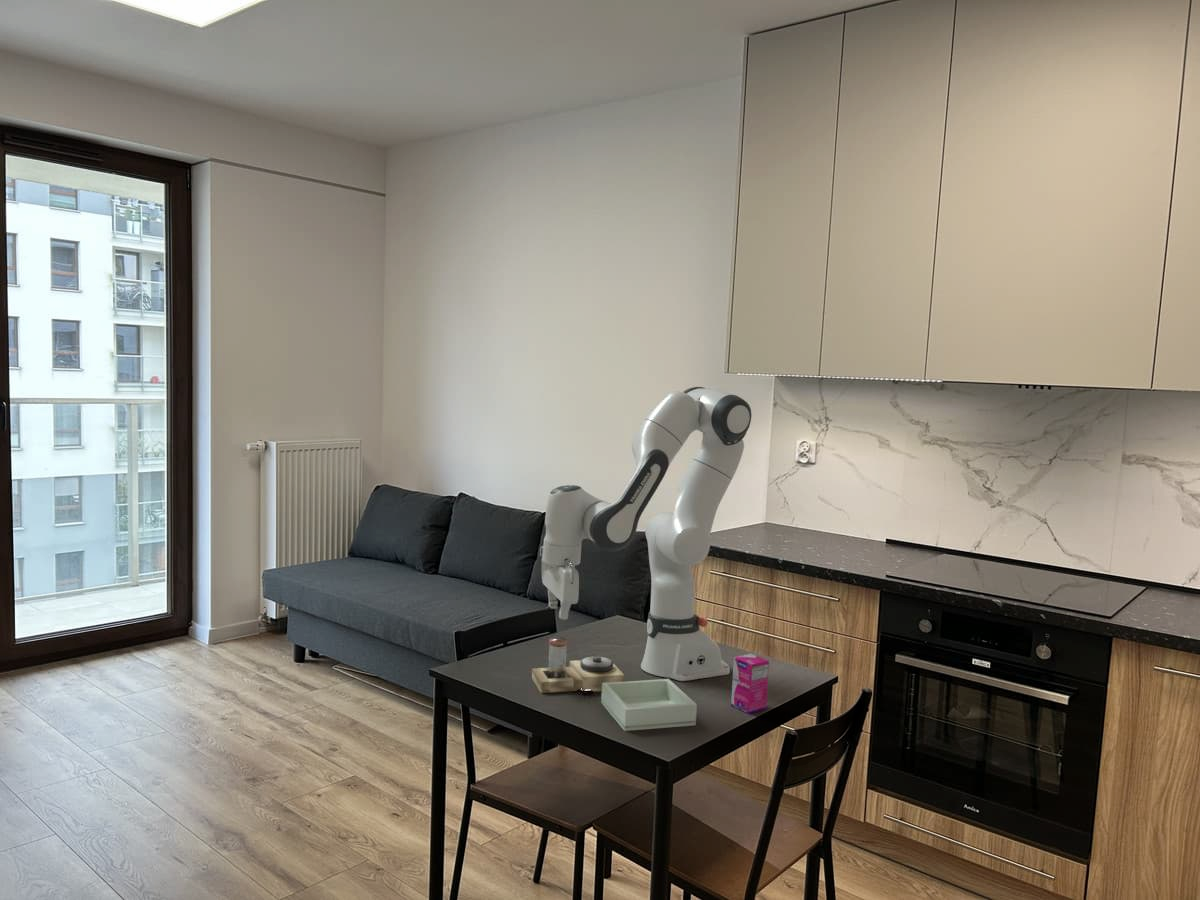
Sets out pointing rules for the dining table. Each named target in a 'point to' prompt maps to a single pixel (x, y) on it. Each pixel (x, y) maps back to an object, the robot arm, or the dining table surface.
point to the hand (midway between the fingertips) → (557, 613)
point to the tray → (648, 704)
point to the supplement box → (750, 683)
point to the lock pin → (557, 657)
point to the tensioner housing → (579, 676)
